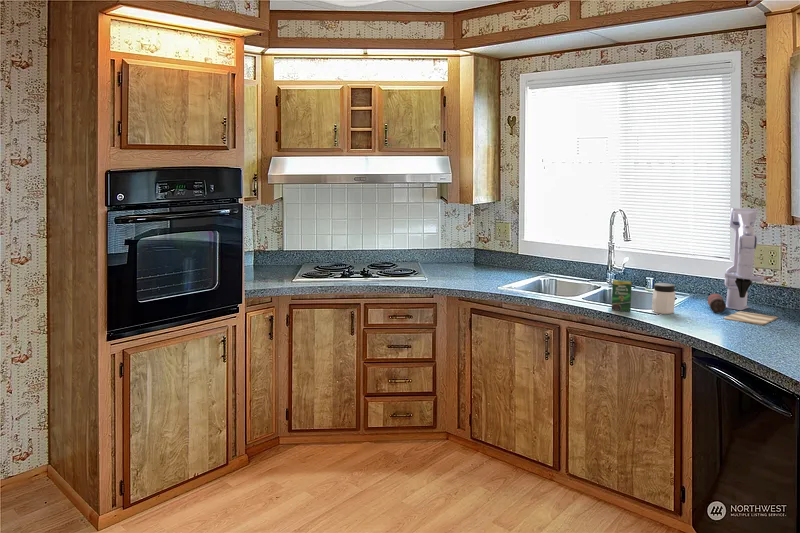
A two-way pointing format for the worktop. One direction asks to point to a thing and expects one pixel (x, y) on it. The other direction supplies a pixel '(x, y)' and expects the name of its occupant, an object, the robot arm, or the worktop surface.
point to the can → (716, 303)
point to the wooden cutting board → (750, 318)
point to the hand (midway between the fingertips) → (742, 297)
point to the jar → (663, 298)
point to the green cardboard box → (621, 295)
